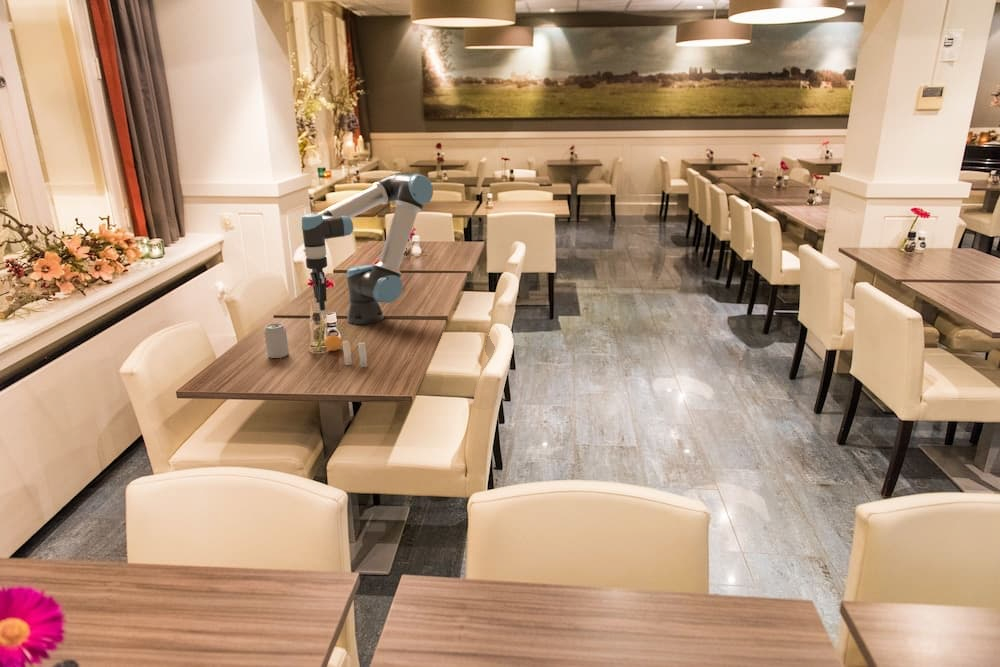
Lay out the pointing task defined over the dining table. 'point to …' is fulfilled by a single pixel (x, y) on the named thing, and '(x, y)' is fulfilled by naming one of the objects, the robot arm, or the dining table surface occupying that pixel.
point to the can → (276, 340)
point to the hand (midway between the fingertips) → (322, 317)
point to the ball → (333, 342)
